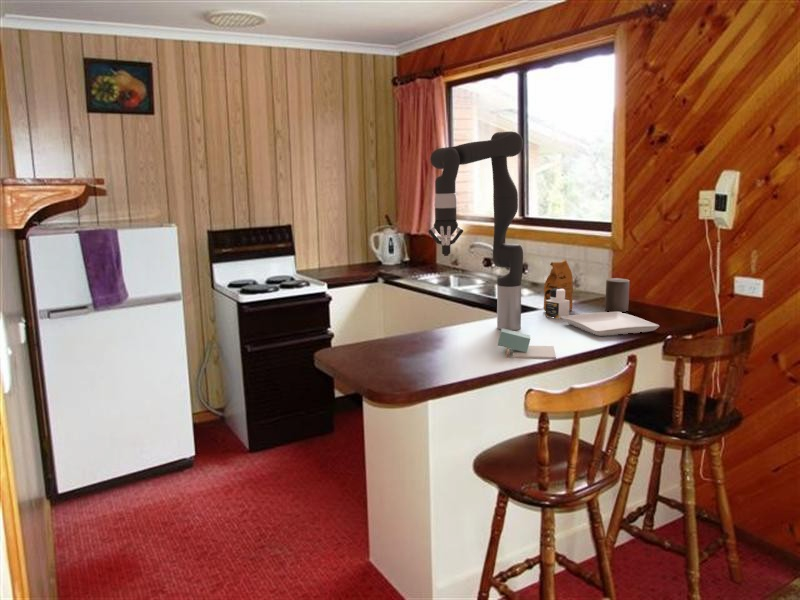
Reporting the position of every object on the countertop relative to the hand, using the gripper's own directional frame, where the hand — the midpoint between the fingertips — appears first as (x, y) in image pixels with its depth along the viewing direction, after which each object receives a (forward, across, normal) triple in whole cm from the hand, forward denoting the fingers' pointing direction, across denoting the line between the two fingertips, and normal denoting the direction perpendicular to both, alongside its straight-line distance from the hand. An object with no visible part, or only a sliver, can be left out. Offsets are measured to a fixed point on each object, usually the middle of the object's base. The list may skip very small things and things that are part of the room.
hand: (446, 255), depth 238 cm
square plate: (+33, -60, -27) cm, 73 cm away
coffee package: (+32, -43, -59) cm, 80 cm away
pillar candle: (+32, -68, -60) cm, 96 cm away
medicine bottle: (+32, -42, -47) cm, 71 cm away
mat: (+32, -30, +11) cm, 46 cm away
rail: (+32, -22, +11) cm, 40 cm away
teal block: (+26, -19, +11) cm, 34 cm away
